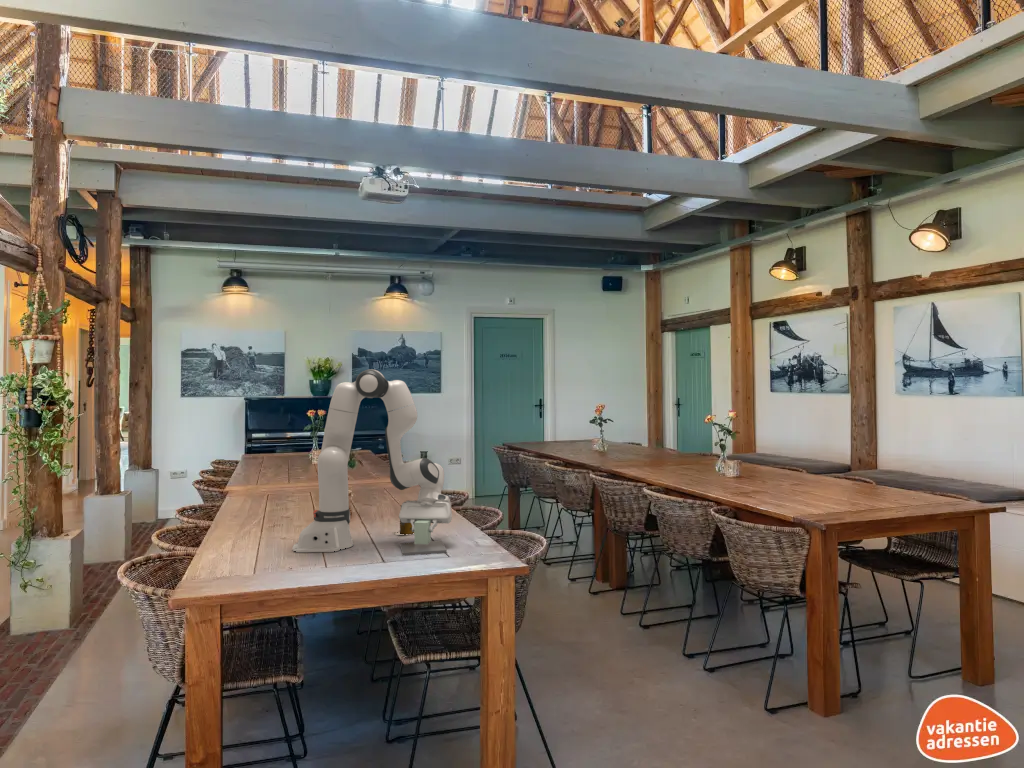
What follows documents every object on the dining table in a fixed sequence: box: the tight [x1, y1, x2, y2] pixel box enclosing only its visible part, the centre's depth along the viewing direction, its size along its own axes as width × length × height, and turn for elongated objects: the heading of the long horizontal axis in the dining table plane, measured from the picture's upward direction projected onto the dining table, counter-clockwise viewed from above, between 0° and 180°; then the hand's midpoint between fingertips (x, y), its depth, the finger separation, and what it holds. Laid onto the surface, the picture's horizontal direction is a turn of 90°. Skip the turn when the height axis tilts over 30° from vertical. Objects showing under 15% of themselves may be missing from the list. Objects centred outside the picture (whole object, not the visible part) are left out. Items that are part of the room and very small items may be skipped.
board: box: [400, 540, 448, 556], centre depth 260 cm, size 16×16×1 cm
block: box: [413, 520, 432, 544], centre depth 260 cm, size 5×5×8 cm
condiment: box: [393, 504, 414, 536], centre depth 288 cm, size 7×8×12 cm
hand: (422, 531), depth 260 cm, fingers closed on block, 5 cm apart
